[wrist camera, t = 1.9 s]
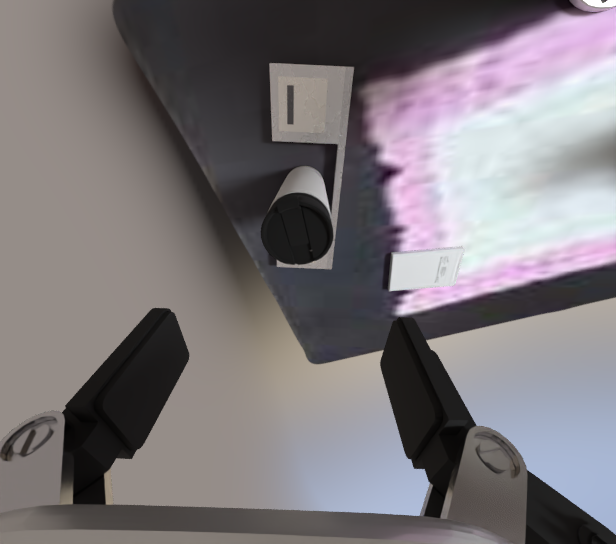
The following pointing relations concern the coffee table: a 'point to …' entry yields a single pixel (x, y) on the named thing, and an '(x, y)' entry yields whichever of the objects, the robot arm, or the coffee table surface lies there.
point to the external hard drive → (424, 268)
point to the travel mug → (299, 219)
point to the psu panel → (313, 119)
